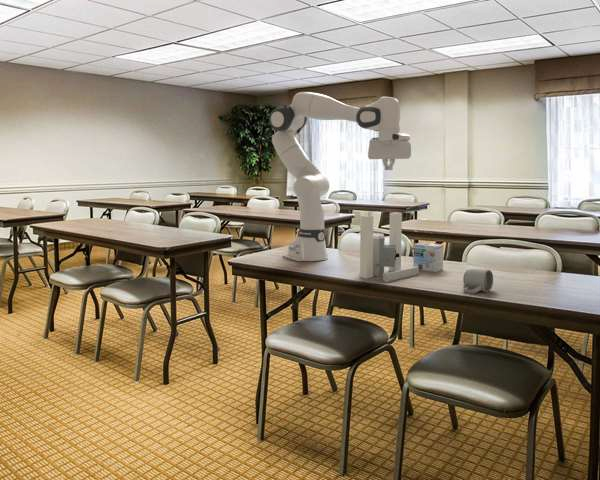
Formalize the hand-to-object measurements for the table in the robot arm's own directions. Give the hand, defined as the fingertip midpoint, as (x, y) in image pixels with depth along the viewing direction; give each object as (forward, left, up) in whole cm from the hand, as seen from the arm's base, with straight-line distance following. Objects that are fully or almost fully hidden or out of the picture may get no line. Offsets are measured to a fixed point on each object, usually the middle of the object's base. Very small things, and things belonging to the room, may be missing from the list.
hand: (388, 170), depth 223 cm
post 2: (+8, -5, -41) cm, 42 cm away
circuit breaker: (+8, -14, -41) cm, 44 cm away
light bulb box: (+16, +7, -41) cm, 45 cm away
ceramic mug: (+49, -13, -41) cm, 66 cm away
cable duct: (+18, -14, -41) cm, 47 cm away
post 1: (+8, -23, -41) cm, 48 cm away
